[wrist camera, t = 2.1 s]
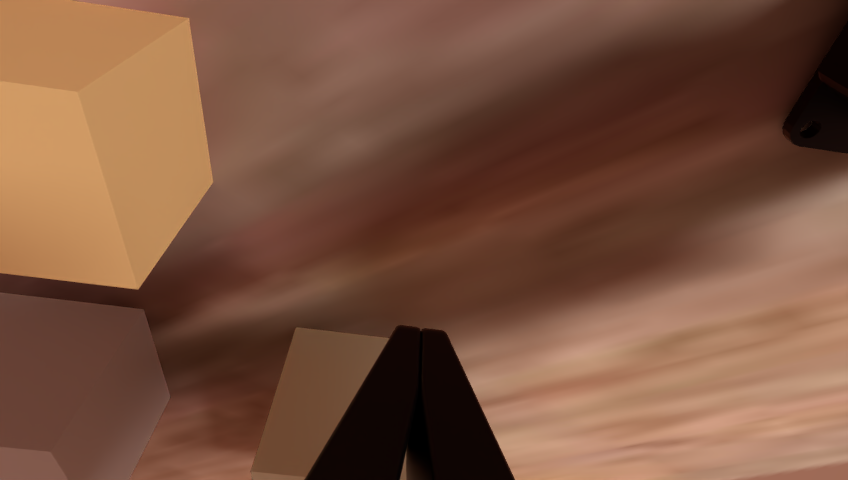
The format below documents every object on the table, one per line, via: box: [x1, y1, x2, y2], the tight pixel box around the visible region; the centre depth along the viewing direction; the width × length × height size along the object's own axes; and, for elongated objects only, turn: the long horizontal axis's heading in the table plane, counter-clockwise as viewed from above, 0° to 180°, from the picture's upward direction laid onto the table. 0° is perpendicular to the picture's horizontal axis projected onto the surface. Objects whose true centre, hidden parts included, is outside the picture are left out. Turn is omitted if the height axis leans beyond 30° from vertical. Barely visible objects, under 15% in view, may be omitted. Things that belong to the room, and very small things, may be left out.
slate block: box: [0, 292, 170, 480], centre depth 19 cm, size 6×6×6 cm
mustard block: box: [0, 0, 213, 289], centre depth 12 cm, size 5×5×5 cm
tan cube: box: [251, 327, 406, 480], centre depth 20 cm, size 6×6×6 cm
